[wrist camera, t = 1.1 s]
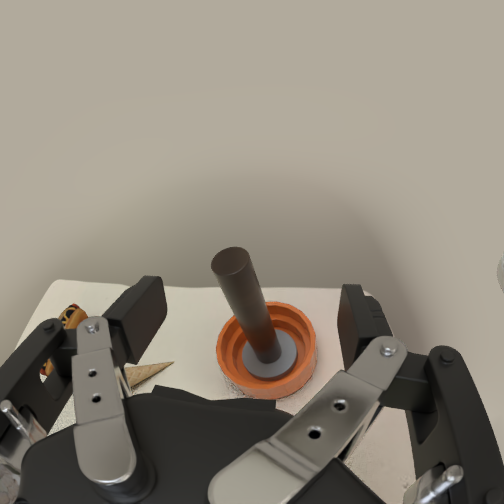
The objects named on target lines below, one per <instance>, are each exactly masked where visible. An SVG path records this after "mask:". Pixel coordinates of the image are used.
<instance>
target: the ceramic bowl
mask: <svg viewBox="0 0 504 504" xmlns="http://www.w3.org/2000/svg"><path fill="white" fill-rule="evenodd" d="M19 485H20V475H16V474H13V473H12V472H10V471H9V470H8V469H7V468H6V467H5V466H4V465H2V464H1V463H0V504H13V503H14V502H15V500H16V498H17V494H18V490H19Z"/></svg>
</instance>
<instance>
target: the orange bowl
mask: <svg viewBox="0 0 504 504" xmlns="http://www.w3.org/2000/svg"><path fill="white" fill-rule="evenodd" d="M265 303H266V306H267V309H268V311H269V314H270V317H271V320H272V323H273V326H274V329H277V330H281V331H284V332H286V333H287V334H289V335H290V336H291V337H292V339H293V340H294V342H295V344H296V348H297V352H298V358H297V362H296V365H295V367H294V368H293V370H292V371H291V372H290V373H289V374H288V375H287V376H285V377H283V378H281V379H279V380H275V381H262V380H259V379H256V378H255V377H253V376H252V375H251V374H250V373H249V372H248V370H247V369H246V367H245V366H244V364H243V360H242V351H243V348H244V346H245V344H246V342H247V341H248V340H247V338H246V336H245V334H244V332H243V330H242V328H241V327H240V325H239V323H238V321H237V319H236V317H235V315H234V316H233V317H232V318H231V319H230V320H229V321H228V322H227V323H226V324H225V326H224V327H223V329H222V331H221V332H220V334H219V337H218V341H217V346H216V353H217V360H218V363H219V365H220V367H221V369H222V371H223V372H224V374H225V375H226V376H227V377H228V379H229V380H230V381H231V382H232V383H233V384H234V385H235V386H236V387H237V388H238V389H239V390H240V391H242V392H243V393H244V394H246V395H249V396H251V397H254V398H257V399H270V400H273V399H277V398H281V397H285V396H288V395H290V394H292V393H293V392H295V391H297V390H298V389H300V388H301V387H302V386H303V385H304V384H305V383H306V382H307V381H308V379H309V378H310V377H311V375H312V373H313V371H314V368H315V366H316V362H317V345H316V336H315V332H314V329H313V326H312V324H311V322H310V320H309V319H308V318H307V317H306V316H305V315H304V313H303V312H302V311H300V310H298V309H297V308H295V307H293V306H291V305H289V304H285V303H280V302H265Z"/></svg>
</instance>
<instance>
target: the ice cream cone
mask: <svg viewBox="0 0 504 504" xmlns="http://www.w3.org/2000/svg"><path fill="white" fill-rule="evenodd" d="M174 362H175V361H174ZM172 363H173V362H167V363H160V364H153V365H145V366H137V367H128V368H125V370H126V373H127V377H128V381H129V384H130V387H132V386H134V385H135V384H137V383H139V382H141V381H142V380H144V379H146V378H148V377H149V376H151V375H153V374H155V373H156V372H158V371H160V370H161V369H163V368H165V367H167V366H168V365H170V364H172ZM72 394H73V393H72ZM73 396H74V395H73Z"/></svg>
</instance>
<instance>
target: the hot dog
mask: <svg viewBox="0 0 504 504" xmlns="http://www.w3.org/2000/svg"><path fill="white" fill-rule="evenodd" d="M87 318H88V316H87V314H86V312H85V311H84V310H82V309H80V307H79V306H78V305H76V304H72V305H70V306H69V307H68V308H66V309H65V310H64V311H63V312H62V313H61V315H60V316H59V318H58V319H60V320H61V321H62V323H63V325H64V328H65V329H74V328H77V326H78V325H79V324H80V323H81V322H82V321H83V320H85V319H87ZM53 369H54V367H53V365H52V364H51V362H50V360H49V359H48V360H47V362H46V363H45V364H44V365H43V367H42V368H41V370H40V373H41V374H42V375H45V376H47V377H48V376H49V374H50V373H51V371H52V370H53Z"/></svg>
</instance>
